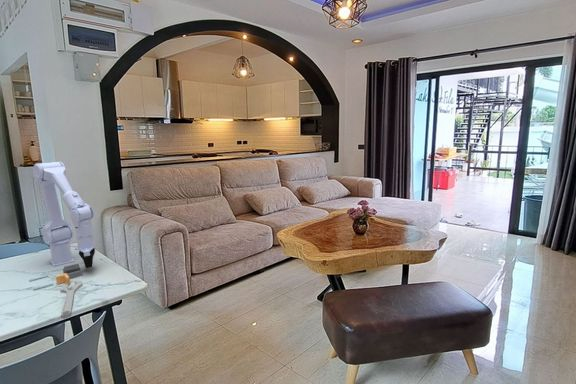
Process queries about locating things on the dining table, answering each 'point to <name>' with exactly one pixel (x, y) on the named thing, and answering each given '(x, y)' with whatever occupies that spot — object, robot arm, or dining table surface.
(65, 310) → the adjustable wrench
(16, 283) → the dining table surface
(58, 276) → the orange l-shaped block
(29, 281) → the rails
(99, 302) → the dining table surface
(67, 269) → the plug block
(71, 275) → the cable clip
